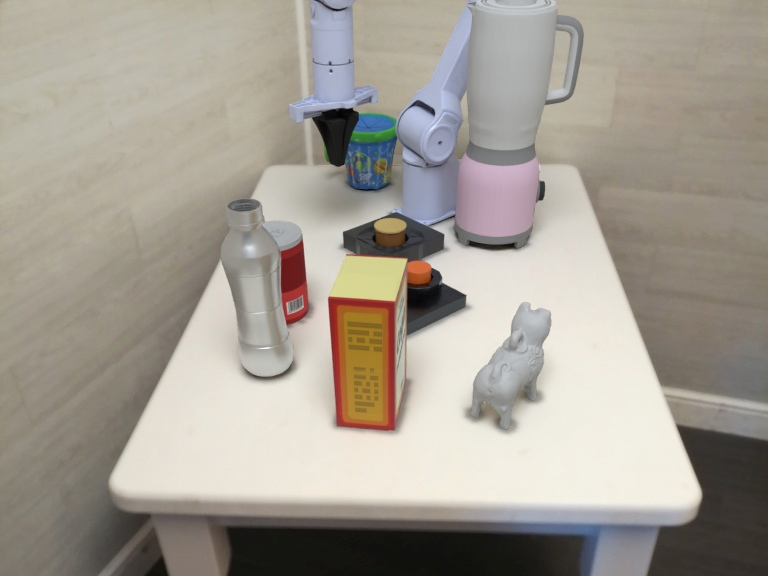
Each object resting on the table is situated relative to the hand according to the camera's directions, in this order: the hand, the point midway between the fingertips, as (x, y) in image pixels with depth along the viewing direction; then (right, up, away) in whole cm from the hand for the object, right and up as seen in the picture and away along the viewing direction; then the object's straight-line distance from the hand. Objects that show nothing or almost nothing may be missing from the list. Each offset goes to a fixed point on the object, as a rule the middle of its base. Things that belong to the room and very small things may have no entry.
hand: (337, 164), depth 108 cm
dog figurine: (+21, -39, -24) cm, 51 cm away
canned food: (-7, -25, -10) cm, 28 cm away
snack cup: (+4, +7, +21) cm, 23 cm away
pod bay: (+9, -12, +3) cm, 15 cm away
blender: (+26, -8, +6) cm, 28 cm away
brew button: (+12, -21, -10) cm, 26 cm away
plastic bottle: (-7, -35, -19) cm, 40 cm away
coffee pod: (+8, -13, +2) cm, 15 cm away
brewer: (+11, -24, -10) cm, 28 cm away
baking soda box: (+6, -40, -25) cm, 47 cm away
